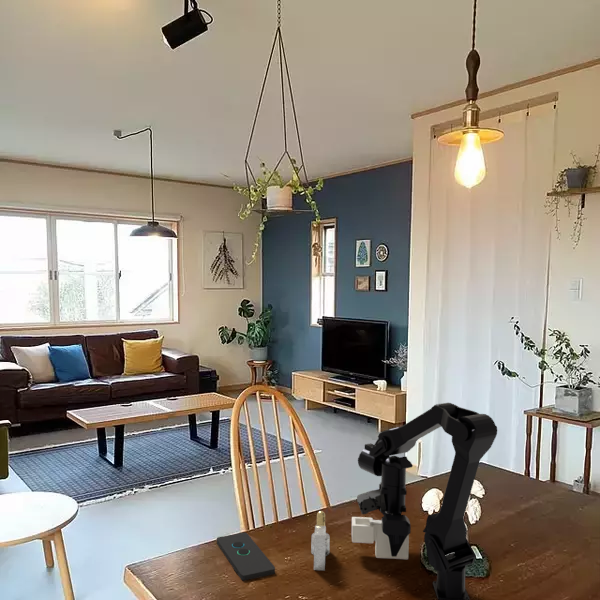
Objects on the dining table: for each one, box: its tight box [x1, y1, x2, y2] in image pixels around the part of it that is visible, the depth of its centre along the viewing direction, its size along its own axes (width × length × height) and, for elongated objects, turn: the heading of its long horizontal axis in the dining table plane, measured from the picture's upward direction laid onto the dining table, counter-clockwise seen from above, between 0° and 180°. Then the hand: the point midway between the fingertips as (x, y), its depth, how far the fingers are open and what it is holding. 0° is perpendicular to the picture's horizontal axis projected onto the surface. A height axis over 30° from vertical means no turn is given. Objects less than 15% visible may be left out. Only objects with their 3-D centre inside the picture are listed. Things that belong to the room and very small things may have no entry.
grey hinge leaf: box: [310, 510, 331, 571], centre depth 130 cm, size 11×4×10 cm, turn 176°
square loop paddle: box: [351, 516, 410, 560], centre depth 132 cm, size 5×13×8 cm, turn 86°
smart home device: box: [216, 532, 276, 581], centre depth 130 cm, size 8×2×20 cm
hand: (391, 546), depth 132 cm, fingers open, 9 cm apart
